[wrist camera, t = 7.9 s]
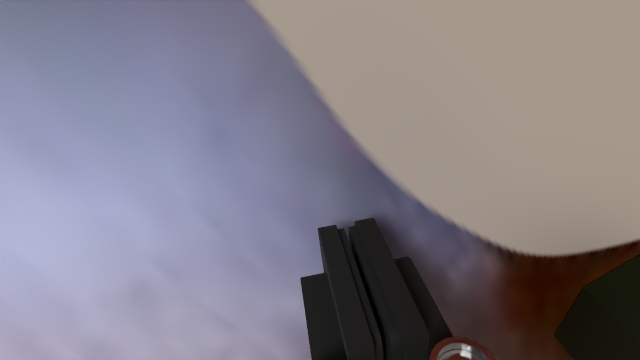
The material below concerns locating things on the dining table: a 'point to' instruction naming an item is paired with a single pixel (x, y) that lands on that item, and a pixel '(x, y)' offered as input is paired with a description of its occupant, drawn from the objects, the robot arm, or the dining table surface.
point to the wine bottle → (605, 317)
